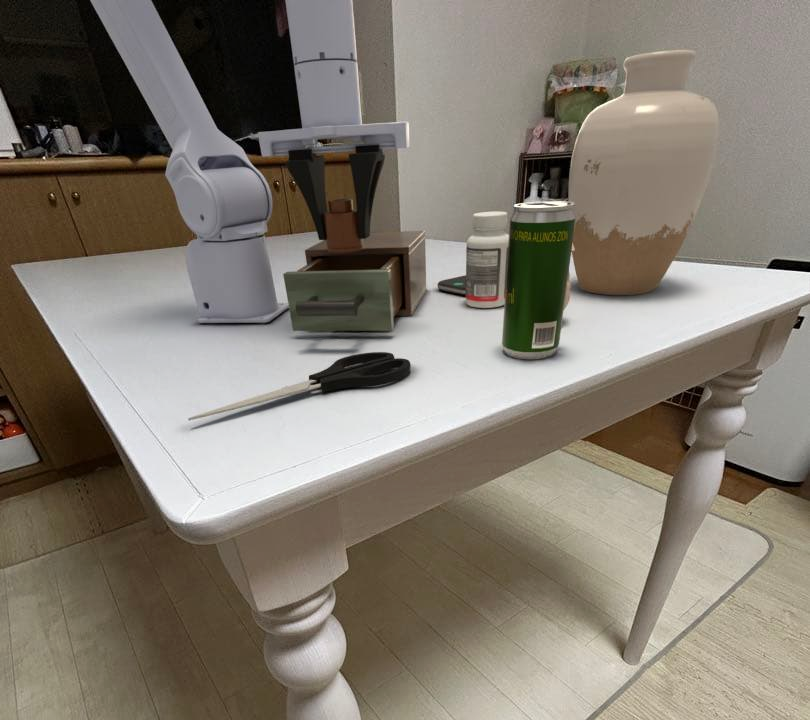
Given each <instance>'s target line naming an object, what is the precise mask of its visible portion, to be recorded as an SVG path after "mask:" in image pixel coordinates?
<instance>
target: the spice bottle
mask: <svg viewBox="0 0 810 720" xmlns="http://www.w3.org/2000/svg"><path fill="white" fill-rule="evenodd" d="M323 219H324V227H325V234H326V243H327V247H328V252H331V253H347V252H355V251H360V250H362V249H363V239H359V234H358V226H357V208H356V209H355V208H354V200H353V198H336V199H330V200H328V211H327V212H324V213H323Z"/></svg>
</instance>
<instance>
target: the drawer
mask: <svg viewBox="0 0 810 720" xmlns="http://www.w3.org/2000/svg"><path fill="white" fill-rule="evenodd" d="M282 277H283V281H284V287H285V292H286V298H287V303H288V304H289V308H288V309H289V316H290V321H291V327H292V331H294V332H304V331H305V332H307V331H308V332H310V331H311V332H313V331H314V332H316V331H317V332H318V331H320V332H322V331H323V332H329V331H330V332H331V331H332V332H333V331H335V332H336V331H339V332H340V331H342V332H343V331H344V332H345V331H349V332H351V331H355V332H356V331H360V332H361V331H364V332H365V331H369V332H371V331H393V329H394V328H395V322H394V317H396V316H395V314H396V313H397V311H398V310H399V309H400V307H401V306H402V304H403V303H404V301H405V285H404V263H403V254H382V255H347V256H321V257H319V258H318V259H316V260H314V261H313V262H311V263H309V264H308V265H307V264H306V265H304V266H302V267H301V268H299V269H297V270H296V271H286V272H284V273H282Z"/></svg>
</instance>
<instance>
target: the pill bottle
mask: <svg viewBox="0 0 810 720" xmlns="http://www.w3.org/2000/svg"><path fill="white" fill-rule="evenodd" d="M506 228H508V212H507V211H483V212H476V213H474V214H473V215H472V229H473V230H474V232H473V234H472V235H471V236H469V237H468V239H467V241H466V246H465V247H466V248H465V249H466V251H465V252H466V253H465V254H466V255H465V256H466V257H465V275H466V295H465V303H466V305H468V306H469V307H472V308H479V309H480V308H481V309H492V308H493V309H494V308H499V307H502V306H504V305H505V290H506V274H507V259H508V244H509V233H507V232H506V231H505V229H506Z"/></svg>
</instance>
